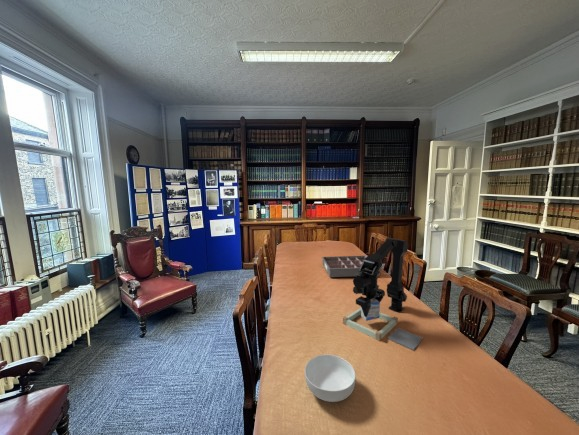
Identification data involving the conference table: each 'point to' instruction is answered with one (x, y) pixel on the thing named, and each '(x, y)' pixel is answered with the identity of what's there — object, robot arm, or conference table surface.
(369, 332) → the pale green square frame
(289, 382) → the conference table surface
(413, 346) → the slate mat
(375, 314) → the medicine box
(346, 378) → the cereal bowl
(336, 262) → the organizer tray
